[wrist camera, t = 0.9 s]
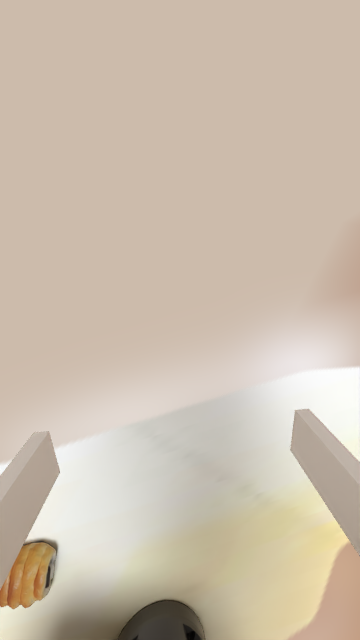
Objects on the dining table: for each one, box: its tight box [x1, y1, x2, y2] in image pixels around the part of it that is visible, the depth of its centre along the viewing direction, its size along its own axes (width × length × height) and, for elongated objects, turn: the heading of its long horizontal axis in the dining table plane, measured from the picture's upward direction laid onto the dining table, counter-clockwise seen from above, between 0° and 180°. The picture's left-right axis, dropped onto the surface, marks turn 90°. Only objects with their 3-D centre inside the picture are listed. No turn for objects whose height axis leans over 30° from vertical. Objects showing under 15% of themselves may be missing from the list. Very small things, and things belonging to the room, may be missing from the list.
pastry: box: [0, 542, 56, 609], centre depth 30 cm, size 9×7×4 cm
